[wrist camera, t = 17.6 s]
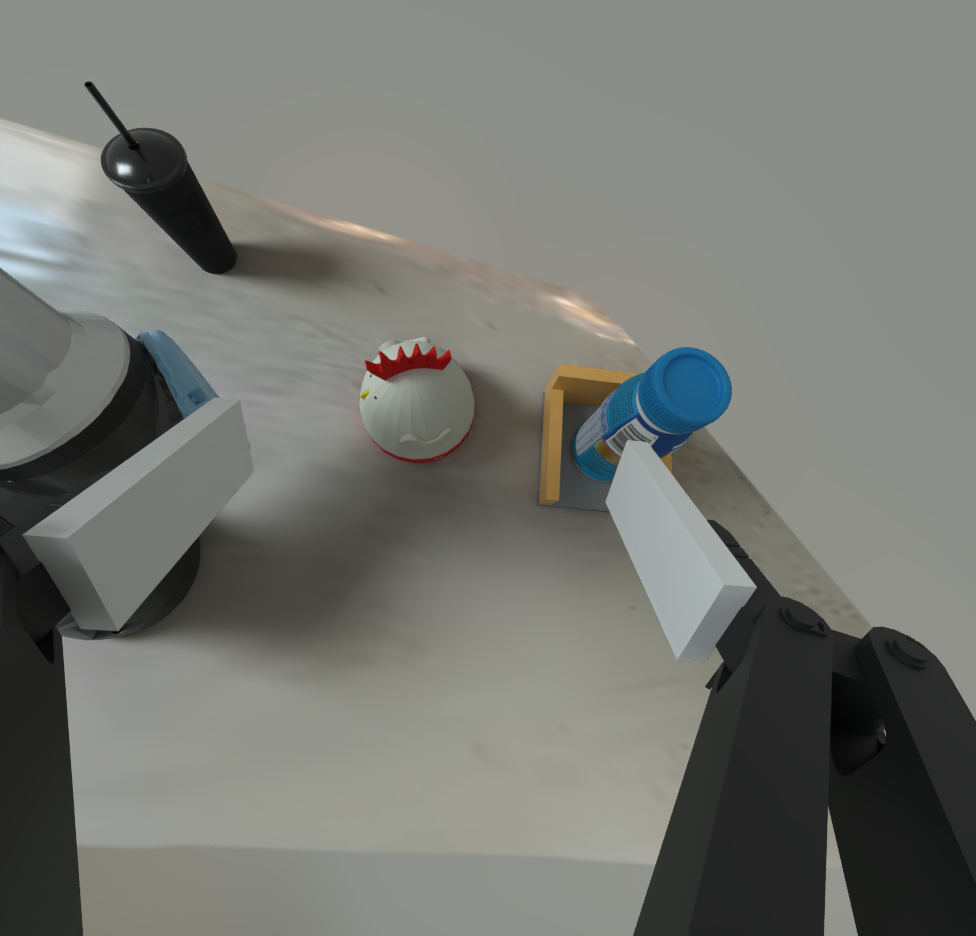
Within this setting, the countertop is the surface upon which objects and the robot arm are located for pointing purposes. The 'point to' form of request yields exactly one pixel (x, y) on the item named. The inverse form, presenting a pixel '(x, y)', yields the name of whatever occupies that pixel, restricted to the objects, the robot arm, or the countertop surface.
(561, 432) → the chute bracket
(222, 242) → the drinking cup
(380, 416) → the kitchen timer
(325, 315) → the countertop surface
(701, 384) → the beverage bottle
